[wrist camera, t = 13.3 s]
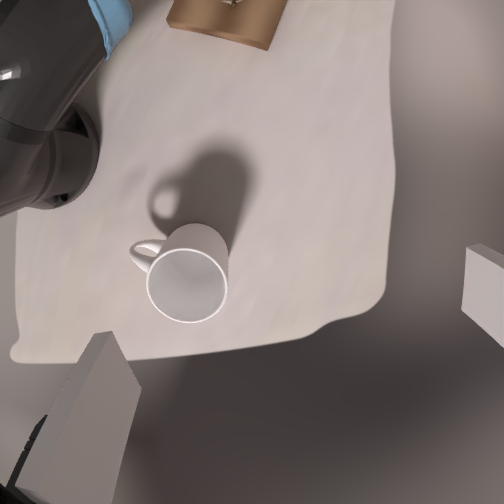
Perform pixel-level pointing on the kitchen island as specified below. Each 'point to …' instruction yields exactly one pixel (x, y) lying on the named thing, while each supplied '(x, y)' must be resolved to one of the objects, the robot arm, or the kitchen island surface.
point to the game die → (231, 2)
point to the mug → (186, 272)
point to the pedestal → (229, 19)
